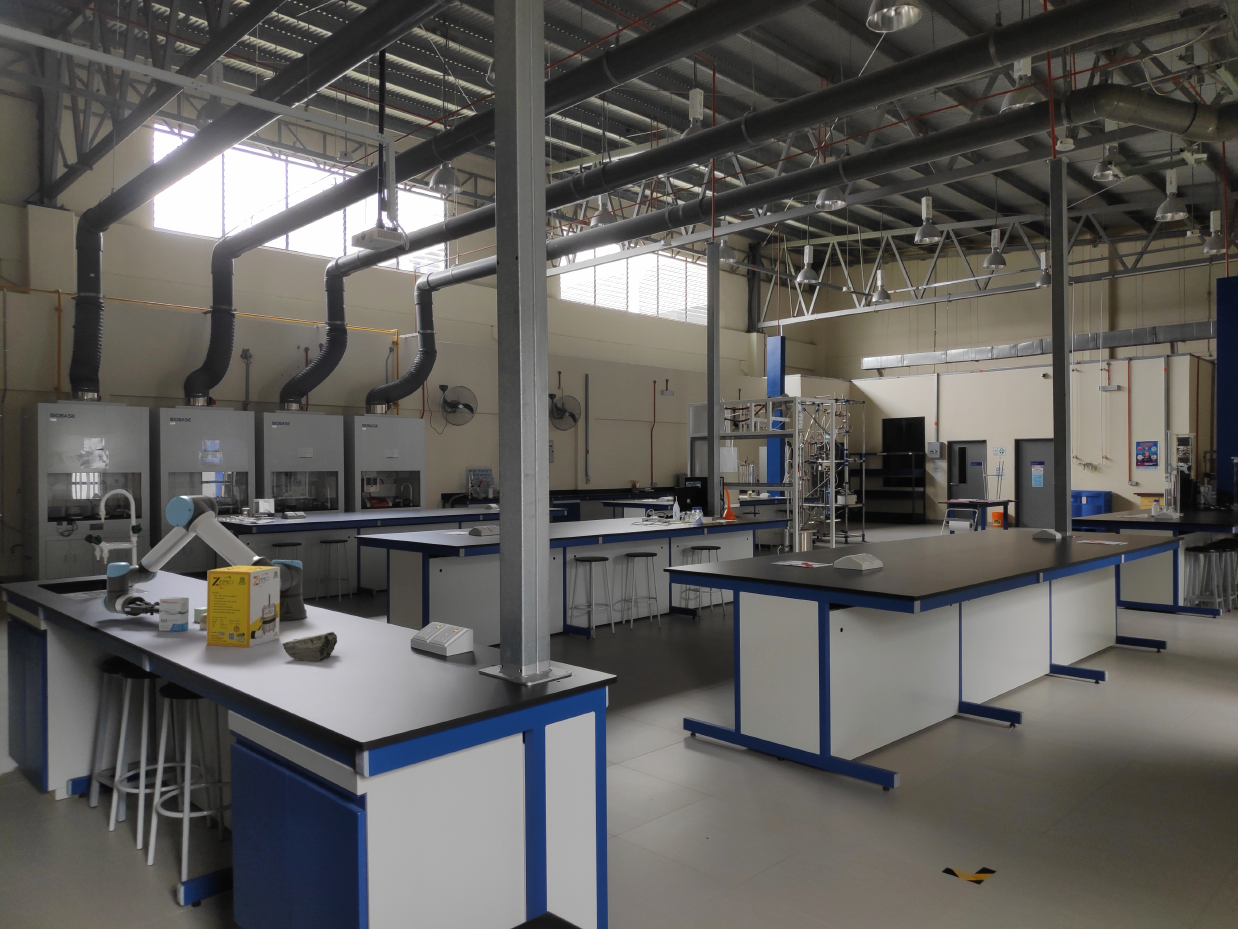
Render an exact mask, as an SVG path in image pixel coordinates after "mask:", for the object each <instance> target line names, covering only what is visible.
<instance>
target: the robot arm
mask: <svg viewBox="0 0 1238 929" xmlns="http://www.w3.org/2000/svg"><path fill="white" fill-rule="evenodd" d="M218 513H219V506H218V504H217V502H216V500H215V499H214V498H212V497H210V496H208V495H206V494H205V495H204V494H200V495H198V494H197V495H194V494H193V495H180V496H175V497H173V498H172V499H171V500H170V501H169V502H168V503H167V505H166V508H165V517H166V518H165V519H166V520H167V522H168V523H169V525H171V526H173V527H174V528H173V529H172V530H170V532H169V533H168V534H166V535H165V536H164V537H163V538H162V539H161V540H160V541H159V542H158V543H157V544H156V545H155V546H154V547H153V548H152V549H151V550H150V551H149V552H148V553H147V554H146V555H145V556H144V557H142V559H140V560H139V561H138V562H137V563H136V564H134V565H130V563H129V562H125V561H124V562H123V561H121V562H110V563H108V564H107V571H106V594H105V595H104V596H103V597H102V598H101V602H100V604H101V607H102V608H103V609H104V610H105V611H106V612H109V613H112V614H120V615H125V617H129V616H130V617H138V616H140V615H147V614H150V615H149V616H154V615H155V614H157V615H159V611H160V601H156V602H153V603H151V602H149V601H146V599H145V598H144V597H142V596H139V595H131V594H130V586H132V585H137V584H138V585H139V584H144V583H149V582H151V581H154V580H155V579H156V578H157V574H158V571H159V570H160V569H161V568H162V567H163V566H165V564H166V563H167V562H169V560H171V559H172V557H173V556H175V555H176V554H178V552H179V551H180V550H182V548H183V547H184V546H186V544H188V542H189V541H191V540H192V539H193V538H195V536H197V537H199V538H200V539H201V540H203V541H204V542H205V543H206V544H207V545H208V546H209V547H210V548H211V549H213V550H214V551H215V552H216V553H217V554H218V555H220V557H222V558H223V559H224V560H225V561H226V562H227V563H228V564H229V565H231V567H232V566H238V565H241V566H268V567H280V614H279V622H283V621H287V622H288V621H296V620H301V619H305V618H307V615H308V613H307V609H306V607H305V603H304V599H303V573H304V571H303V570H304V569H303V562H302V561H301V560H291V559H290V560H289V559H288V560H287V559H284V560H283V559H273V560H271V561H270V560H269V559H268V558H267V557H266V556H258V555H257V554H256V553H255V552H254V551H253V550H252V549H250V548H249V547H248V546H247V545H245V543H244V542H242V541H241V540H240V539H239V538H237V536H235V535H234V534H233V533H232V532H231V531H229V529H227V528H226V527H225V526H224V525H222V523H221V522H220V521H218V520H217V517H218V515H219V514H218Z"/></svg>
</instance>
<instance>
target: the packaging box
mask: <svg viewBox="0 0 1238 929" xmlns="http://www.w3.org/2000/svg"><path fill="white" fill-rule="evenodd" d="M206 581H207V583H206V585H207V586H206V607H207V629H206V641H205V642H206V646H217V647H234V648H235V647H236V648H252V647H256V646H259V645H261V644H265V643H267V642H271V641H274V640H277V639H279V638H280V621H279V614H280V567H268V566H241V565H238V566H232V565H231V566H228V567H227V566H226V567H221V568H215V569H210V570H207V580H206Z"/></svg>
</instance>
